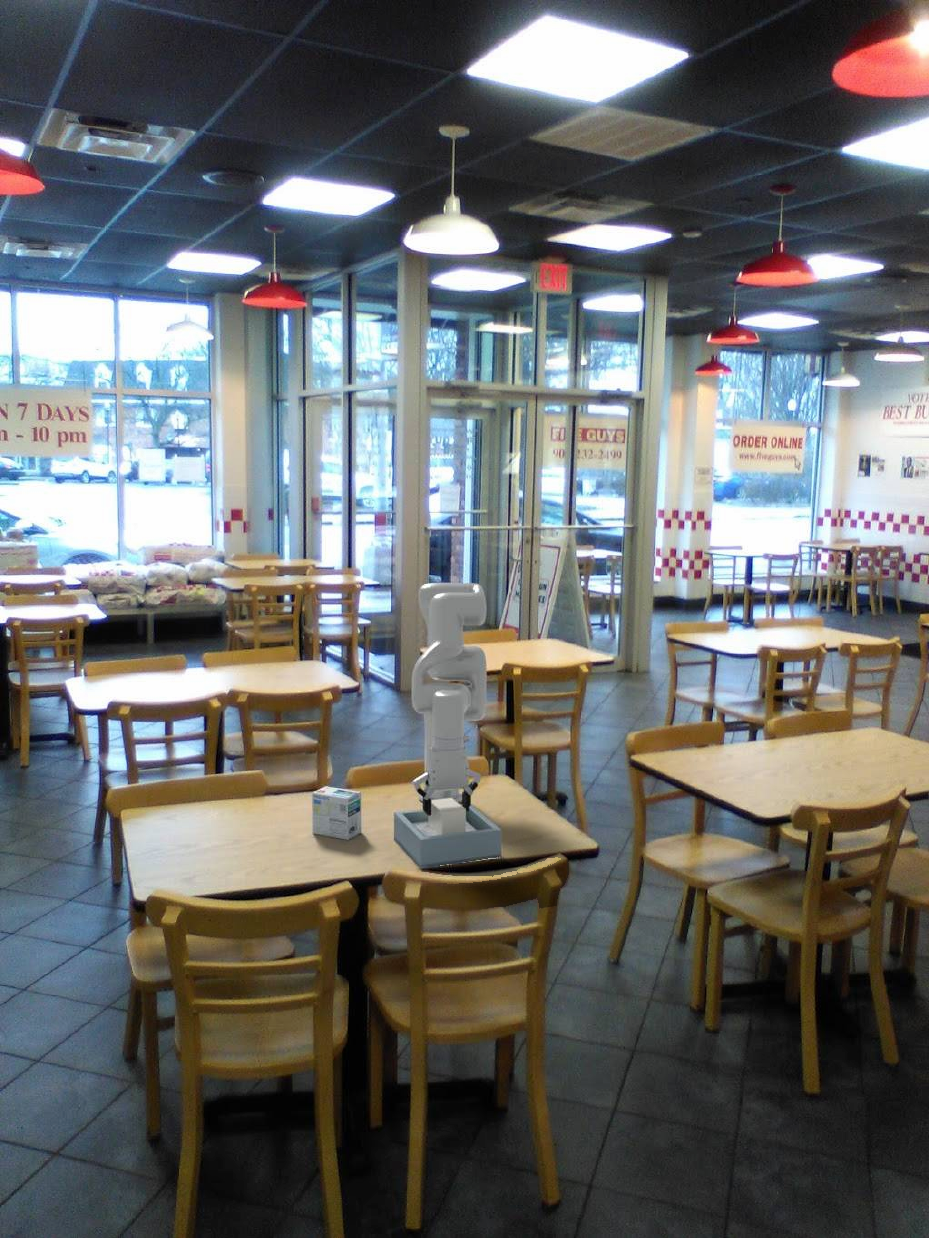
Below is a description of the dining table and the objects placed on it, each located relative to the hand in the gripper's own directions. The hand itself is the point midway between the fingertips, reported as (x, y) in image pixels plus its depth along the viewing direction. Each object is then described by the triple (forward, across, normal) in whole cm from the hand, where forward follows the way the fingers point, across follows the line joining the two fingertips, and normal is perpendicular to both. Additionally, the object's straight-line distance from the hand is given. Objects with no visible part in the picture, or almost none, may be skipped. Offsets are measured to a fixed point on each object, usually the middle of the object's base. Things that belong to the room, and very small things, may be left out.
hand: (446, 811), depth 257 cm
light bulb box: (+10, +22, -18) cm, 30 cm away
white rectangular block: (+4, 0, 0) cm, 4 cm away
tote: (+9, 0, 0) cm, 9 cm away
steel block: (+8, 0, 0) cm, 8 cm away
